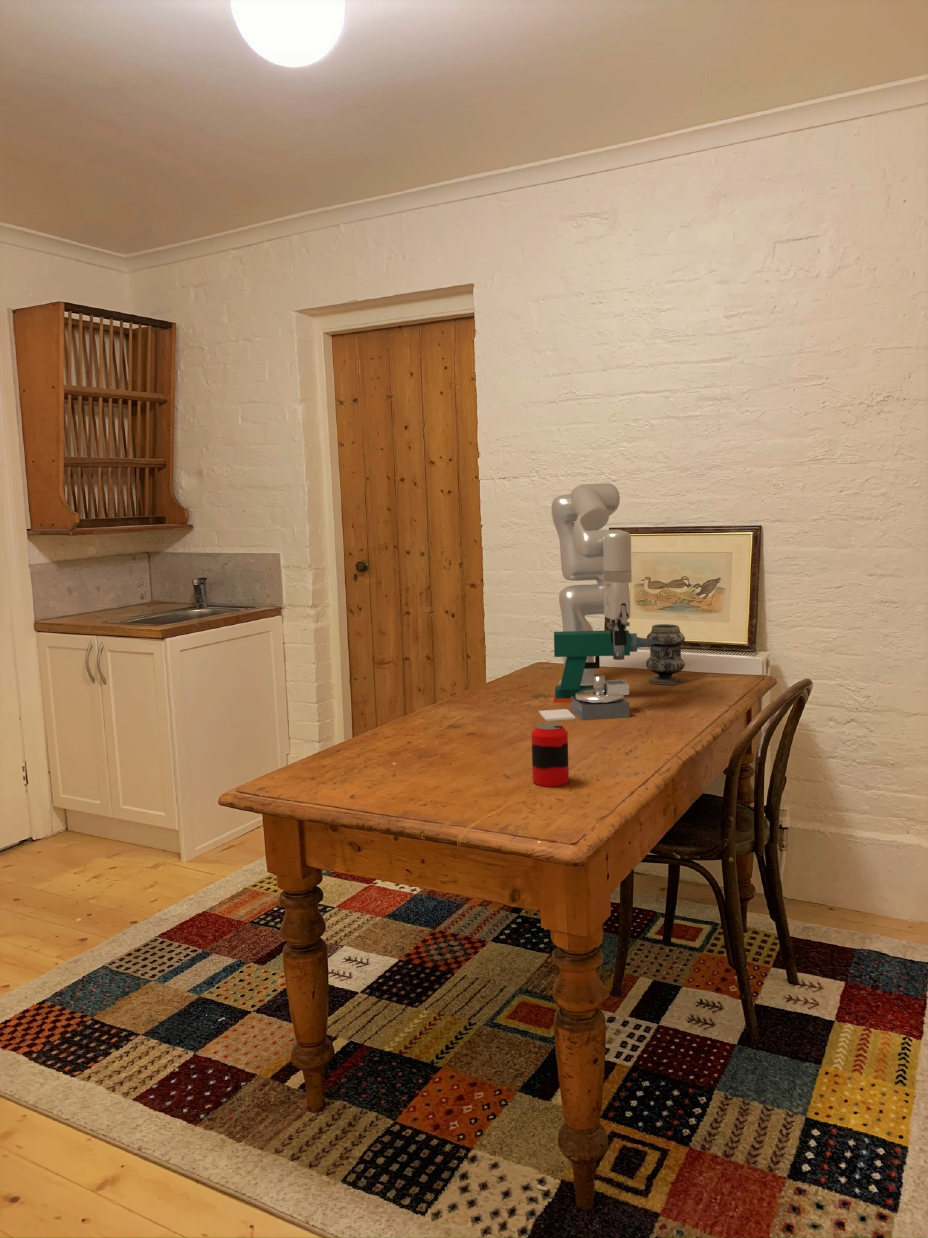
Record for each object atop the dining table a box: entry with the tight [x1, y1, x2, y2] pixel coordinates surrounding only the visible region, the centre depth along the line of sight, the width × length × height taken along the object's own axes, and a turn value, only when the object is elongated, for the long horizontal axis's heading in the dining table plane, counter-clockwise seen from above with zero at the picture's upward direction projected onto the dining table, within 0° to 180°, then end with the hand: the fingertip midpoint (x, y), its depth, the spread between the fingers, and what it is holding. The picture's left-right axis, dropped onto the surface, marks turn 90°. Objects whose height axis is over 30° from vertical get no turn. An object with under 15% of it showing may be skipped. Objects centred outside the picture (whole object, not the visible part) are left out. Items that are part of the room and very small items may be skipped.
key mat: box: [538, 708, 576, 722], centre depth 261 cm, size 10×8×1 cm
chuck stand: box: [570, 695, 630, 721], centre depth 262 cm, size 13×13×4 cm
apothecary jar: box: [645, 623, 686, 686], centre depth 301 cm, size 12×12×18 cm
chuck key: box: [606, 621, 631, 661], centre depth 260 cm, size 3×6×10 cm, turn 98°
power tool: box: [553, 629, 661, 704], centre depth 278 cm, size 32×7×20 cm, turn 84°
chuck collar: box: [576, 674, 630, 703], centre depth 261 cm, size 13×14×6 cm
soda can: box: [530, 722, 570, 788], centre depth 200 cm, size 8×8×12 cm
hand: (618, 643), depth 260 cm, fingers closed on chuck key, 3 cm apart
